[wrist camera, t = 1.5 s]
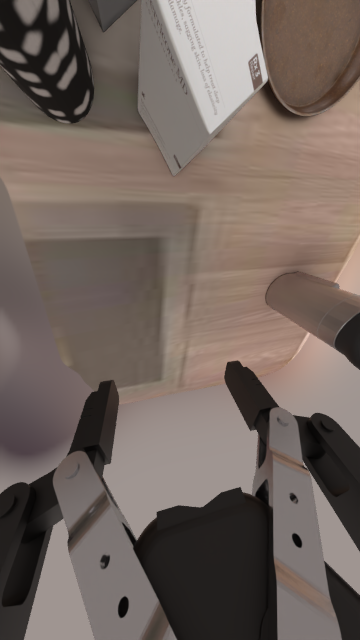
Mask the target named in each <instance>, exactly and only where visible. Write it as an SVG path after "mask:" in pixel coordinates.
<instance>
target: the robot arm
mask: <svg viewBox="0 0 360 640" xmlns="http://www.w3.org/2000/svg"><path fill="white" fill-rule="evenodd" d="M266 302H267V304H268V305H269V306H270V307H271V308H273V309H274V310H276V311H277V312H279V313H280V314H282V315H283V316H285V317H287V318H288V319H290V320H291V321H293V322H294V323H296V324H297V325H299V326H300V327H302V328H303V329H305V330H307V331H308V332H310V333H311V334H313V335H314V336H316V337H317V338H319V339H321V340H322V341H324V342H325V343H327V344H328V345H330V346H331V347H333V348H334V349H336V350H338V351H339V352H341V353H342V354H344V355H345V356H346V357H347V359H348V360H349V361H350V362H351V363H352V364H353V365H354V366H355V367H357V368H358V369H359V370H360V296H359V295H356V294H353V293H350V292H347V291H344V290H341V289H339V285H338V284H337V283H334V282H331V281H327V280H324V279H321V278H318V277H314V276H311V275H308V274H305V273H301V272H296V273H294V274H292V273H289V274H284V275H282V276H280V277H279V278H277V279H276V280H275V281H274V282H273V283H272V284H271V286H270V287H269V289H268V291H267V294H266ZM224 378H225V382H226V385H227V387H228V389H229V391H230V392H231V395H232V396H233V398H234V400H235V402H236V404H237V406H238V408H239V410H240V412H241V414H242V416H243V417H244V420H245V421H246V424H247V425H248V427H249V429H250V431H251V430H257V432H258V445H257V459H256V460H257V461H256V472H255V476H254V480H253V488H252V495H250V494H247V493H243V492H242V490H241V488H240V487H239V488H235V489H232V490H228V491H225V492H222V493H220V494H219V495H218V496H216V497H215V498H214V499H213V500H211V501H210V502H209V503H208V504H206V505H205V506H204V507H201V508H199V507H189V506H175V507H172V508H168V509H165V510H162V511H158V512H157V518H155V519H154V520H153V521H152V522H151V523H150V524H149V525H148V526H147V527H146V528H145V529H144V531H143V532H142V534H141V535H140V537H139V538H138V540H137V539H136V537H135V535H134V534H133V532H132V530H131V528H130V526H129V524H128V522H127V520H126V519H125V517H124V515H123V514H122V512H121V510H120V509H119V507H118V505H117V503H116V501H115V499H114V497H113V495H112V493H111V491H110V490H109V488H108V486H107V484H106V482H105V480H104V478H103V476H102V475H103V470H104V465H106V464H110V463H111V456H112V448H113V442H114V434H115V427H116V420H117V413H118V405H119V395H118V391H117V388H116V385H115V382H114V380H109V381H103V382H100V385H99V388H98V391H96V392H92V393H91V394H90V396H89V397H88V398H87V400H86V402H85V405H84V408H83V412H82V415H81V419H80V420H79V424H78V427H77V430H76V433H75V436H74V439H73V442H72V445H71V448H70V451H69V453H68V455H67V456H66V458H65V459H63V460H62V462H61V463H60V464H59V466H58V467H57V468H55V469H54V470H53V471H51V472H50V473H48V474H46V475H44V476H43V477H41V478H39V479H37V480H36V481H34V482H32V483H30V484H29V485H28V484H26V483H23V482H20V483H16V484H14V485H12V486H10V487H8V488H7V489H6V490H4V491H3V492H2V493H1V494H0V640H24V636H25V633H26V629H27V625H28V621H29V617H30V613H31V609H32V605H33V602H34V598H35V594H36V590H37V586H38V582H39V579H40V575H41V571H42V567H43V563H44V559H45V555H46V551H47V547H48V544H49V540H50V536H51V532H52V528H53V525H55V524H56V523H58V522H59V521H61V520H62V519H63V518H64V521H65V524H66V527H67V530H68V534H69V539H68V550H69V555H70V558H71V561H72V565H73V568H74V572H75V575H76V578H77V582H78V585H79V588H80V592H81V595H82V598H83V602H84V605H85V608H86V612H87V615H88V618H89V621H90V625H91V628H92V632H93V635H94V638H95V640H360V595H359V594H358V593H357V592H356V591H355V590H354V589H353V588H352V587H351V586H350V585H349V584H348V583H347V582H345V581H344V580H343V579H342V578H341V577H340V576H339V575H338V574H337V573H336V572H335V571H334V570H333V569H332V568H331V567H330V566H329V565H328V564H327V563H326V562H325V561H324V558H323V552H322V545H321V539H320V532H319V526H318V519H317V513H316V506H315V500H314V494H313V487H312V481H311V476H310V473H311V474H312V476H313V477H314V479H315V481H316V482H317V484H318V485H319V487H320V489H321V490H322V492H323V493H324V495H325V497H326V498H327V500H328V501H329V503H330V505H331V506H332V508H333V509H334V511H335V513H336V514H337V516H338V517H339V519H340V521H341V522H342V524H343V525H344V527H345V529H346V530H347V532H348V533H349V535H350V537H351V538H352V540H353V541H354V543H355V545H356V546H357V548H358V549H359V551H360V447H359V446H358V445H357V444H356V443H355V442H354V441H353V440H352V439H351V438H350V436H349V435H348V434H347V433H346V432H345V431H344V430H343V429H342V428H341V427H340V426H339V424H337V422H335V421H334V420H333V419H332V418H330V417H329V416H327V415H324V414H321V413H315V414H313V415H312V416H311V417H310V418H308V417H301V416H294V415H292V414H291V413H290V412H288V411H287V410H285V409H283V408H280V407H279V406H278V405H277V403H276V402H275V401H274V400H273V398H272V397H271V395H270V394H269V393H268V391H267V390H266V389H265V387H264V386H263V385H262V383H261V382H260V381H259V380H258V378H257V377H256V375H255V374H254V372H253V371H251V370H250V369H249V368H247V367H243V366H242V365H241V363H240V362H239V361H232V362H228V363H227V366H226V371H225V376H224ZM303 461H304V463H305V465H306V466H307V468H308V469H309V471H310V473H309V471H308V469H307V468H305V467H304V465H303Z"/></svg>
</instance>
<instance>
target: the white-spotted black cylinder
mask: <svg viewBox="0 0 360 640" xmlns="http://www.w3.org/2000/svg"><path fill="white" fill-rule="evenodd" d="M0 66H1V67H2V68H3V70H4V71H5V72H6V73H7V74H8V75H9V76H10V77H11V78H12V80H13V81H14V82H15V83H16V84H17V85H18V86H19V87H20V88H21V90H22V91H23V92H24V93H25V94H26V95H27V96H28V97H29V98H30V100H31V101H32V102H33V103H34V104H35V105H36V106H37V107H38V108H39V109H40V110H41V111H42V112H44V113H45V114H46V115H48V116H49V117H51V118H53V119H55V120H56V121H59V122H63V123H75V122H78V121H80V120H82V119H83V118H84V117H85V116H86V115H87V114H88V112H89V110H90V108H91V105H92V101H93V95H94V81H93V74H92V68H91V64H90V61H89V58H88V55H87V52H86V49H85V46H84V43H83V40H82V36H81V33H80V30H79V27H78V24H77V21H76V18H75V15H74V12H73V9H72V6H71V3H70V0H0Z"/></svg>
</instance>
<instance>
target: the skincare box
mask: <svg viewBox="0 0 360 640" xmlns="http://www.w3.org/2000/svg"><path fill="white" fill-rule="evenodd" d="M267 80H268V75H267V70H266V66H265V61H264V56H263V52H262V47H261V42H260V37H259V32H258V27H257V22H256V2H255V0H141V27H140V54H139V82H138V112H139V114H140V116H141V117H142V119H143V121H144V122H145V124H146V125H147V127H148V129H149V131H150V132H151V134H152V136H153V138H154V140H155V141H156V143H157V145H158V147H159V149H160V151H161V153H162V155H163V157H164V159H165V161H166V162H167V164H168V167H169V169H170V171H171V173H172V175H173V176H175V175H176V174H177V173H178V172H179V171H180V170H182V169H183V168H184V167H185V166H186V165H187V164H188V163H189V162H190V161H191V160H192V159H193V158H194V157H195V156H196V155H197V154H198V153H199V152H200V151H201V150H202V149H203V148H204V147H205V146H206V145H207V144H208V143H209V142H210V141H211V140H212V139H213V138H214V137H215V136H216V135H217V134H218V133H219V131H220V130H221V129H222V128H223V127H224V126H225V125H226V124H227V123H228V122H229V121H230V120H231V119H232V118H233V117H234V116H235V115H236V114H237V113H238V112H239V111H240V109H241V108H242V107H243V106H244V105H245V104H246V103H247V102H248V101H249V100H250V99H251V98H252V97H253V96H254V95H255V94H256V93H257V92H258V91H259V90H260V89H261V87H262V86H263V85H264V84H265V83H266V82H267Z"/></svg>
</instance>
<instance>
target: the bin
mask: <svg viewBox="0 0 360 640" xmlns="http://www.w3.org/2000/svg"><path fill="white" fill-rule="evenodd" d="M135 1H136V0H89V3H90V5H91V7H92V9H93V11H94V13H95V15H96V18H97V20H98V22H99V24H100V26H101V28H102V30H103V32H104V31H105V30H106V29H107V28H108V27H109V26H111V25H112V24H113V23H114V22H115V21H116V20H117V19H118V18H119V17H120V16H121V15H122V14H123V13H124V12H125V11H126V10H127V9H128V8H129V7H130V6H131V5H132V4H133V3H134V2H135Z"/></svg>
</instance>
